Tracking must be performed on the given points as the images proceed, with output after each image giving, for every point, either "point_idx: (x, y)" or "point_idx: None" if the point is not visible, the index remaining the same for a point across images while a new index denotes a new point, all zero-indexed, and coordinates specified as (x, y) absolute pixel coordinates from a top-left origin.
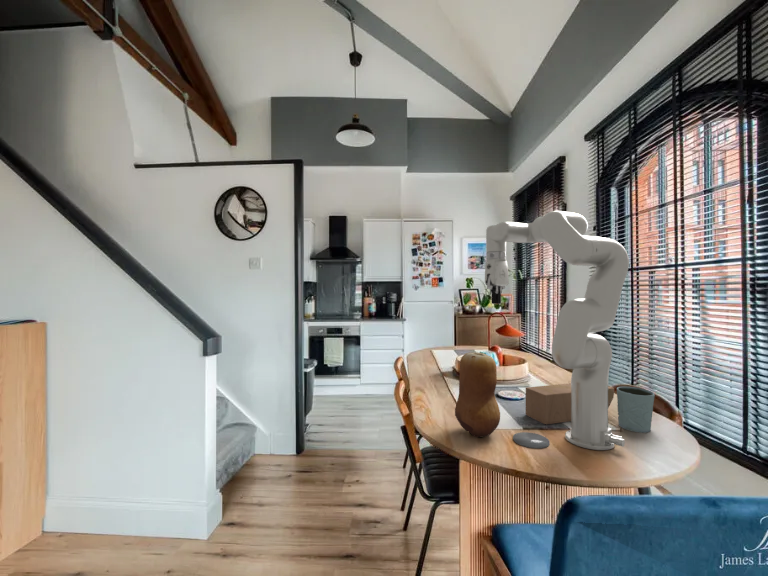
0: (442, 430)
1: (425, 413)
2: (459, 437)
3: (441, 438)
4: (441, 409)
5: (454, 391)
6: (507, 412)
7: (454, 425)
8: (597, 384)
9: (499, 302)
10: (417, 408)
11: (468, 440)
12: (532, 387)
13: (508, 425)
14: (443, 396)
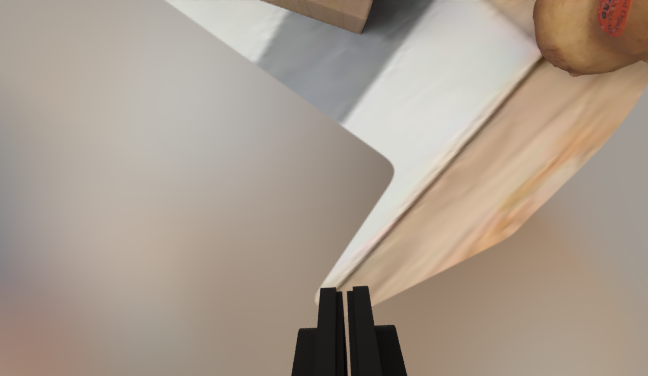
0: (601, 85)
1: (536, 186)
2: None
3: None
4: (486, 184)
5: (348, 261)
6: (378, 76)
7: (555, 91)
8: None
9: (342, 296)
10: (522, 220)
11: None
12: (349, 4)
13: (459, 12)
14: (402, 248)
